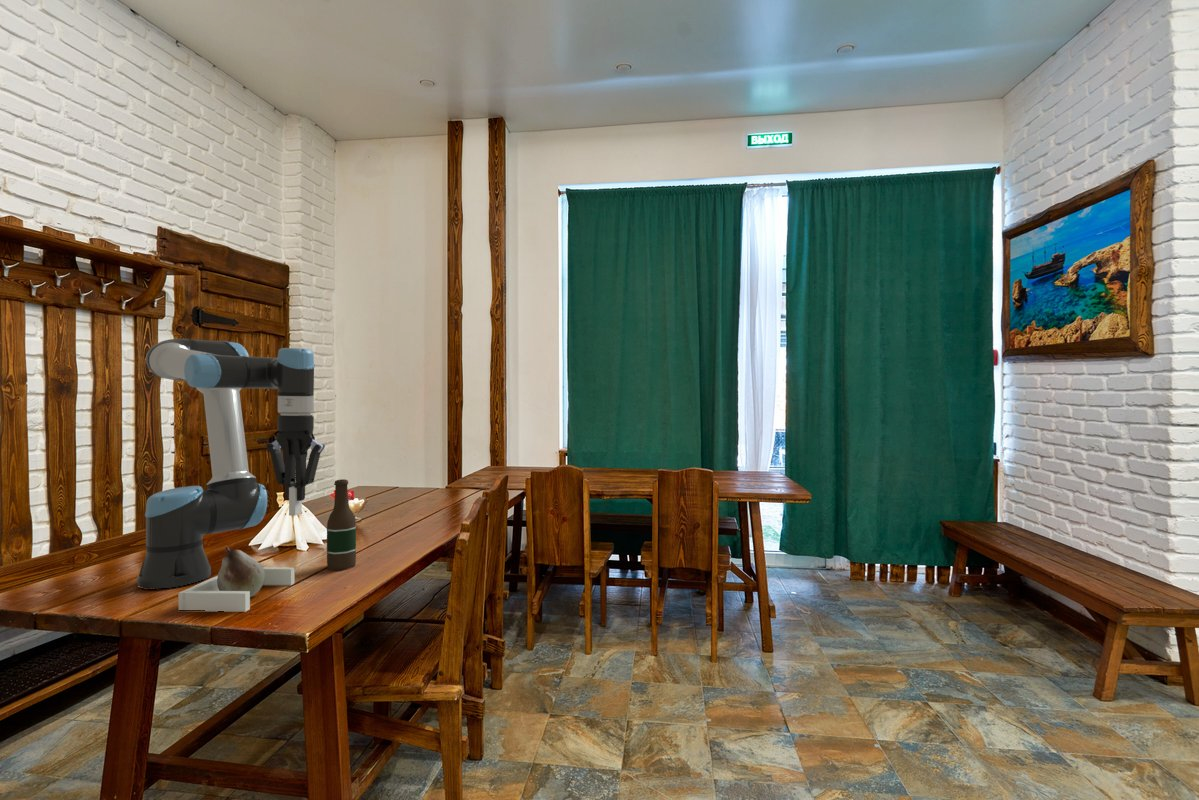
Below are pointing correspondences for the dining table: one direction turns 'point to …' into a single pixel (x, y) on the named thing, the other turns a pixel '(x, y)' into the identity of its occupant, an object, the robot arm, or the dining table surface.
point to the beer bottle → (341, 531)
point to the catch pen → (229, 593)
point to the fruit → (240, 573)
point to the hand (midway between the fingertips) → (295, 514)
